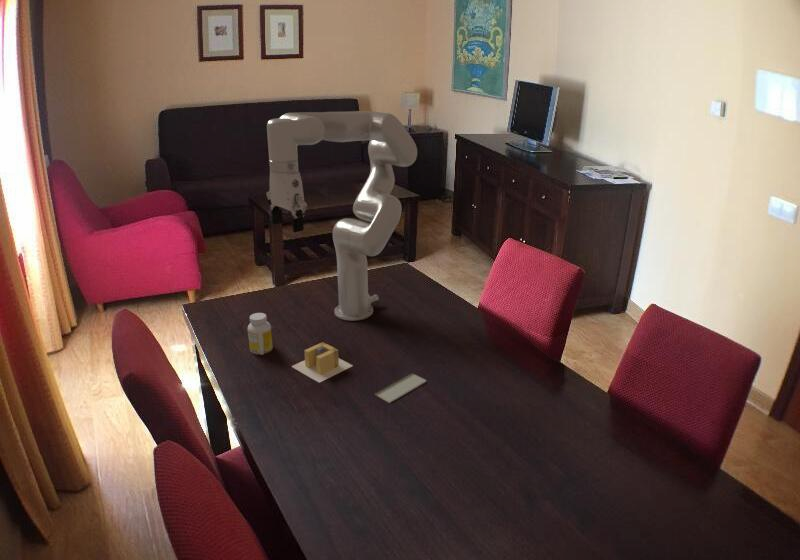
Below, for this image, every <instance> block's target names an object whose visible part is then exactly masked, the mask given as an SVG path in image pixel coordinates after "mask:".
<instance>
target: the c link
mask: <svg viewBox="0 0 800 560" xmlns="http://www.w3.org/2000/svg"><path fill="white" fill-rule="evenodd" d="M318 347H324V348H325V353H323V354H321V355H319V356H318V349H317V348H318ZM303 351H304V360H305V366H306V367H308V368H310V367H312V366H315V365H317V373H318V374H320V375H321V374H323V373H325V372H327V371H330V370H332V369H334V368H336V367H338V366H339V359H340V358H339V349H337V348H335V347H334V346H332V345H329V344H328V343H326V342H324V341H322V342H320V343H318V344H315V345H312V346H310V347H309V348H306V349H304V350H303Z"/></svg>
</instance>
